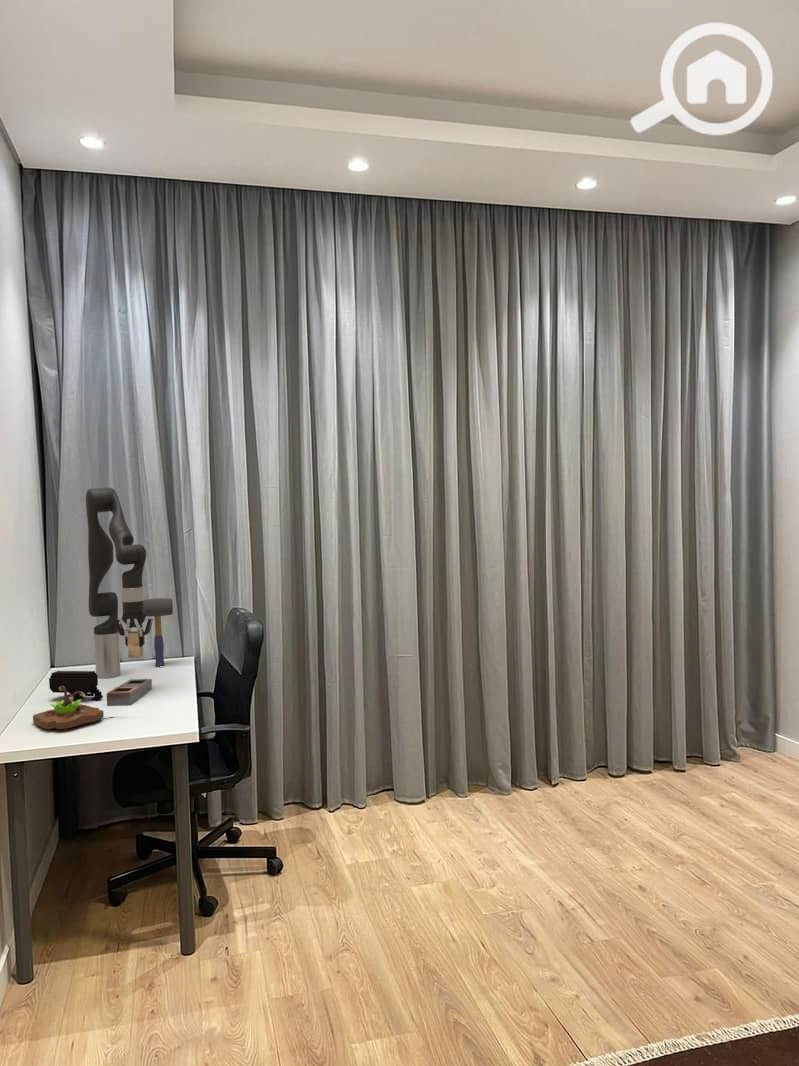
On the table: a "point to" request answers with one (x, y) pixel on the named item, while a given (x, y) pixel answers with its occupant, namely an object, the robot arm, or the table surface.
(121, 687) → the rail
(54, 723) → the plant
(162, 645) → the rubber mallet
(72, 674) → the security camera
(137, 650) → the brown upright block
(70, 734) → the table surface
